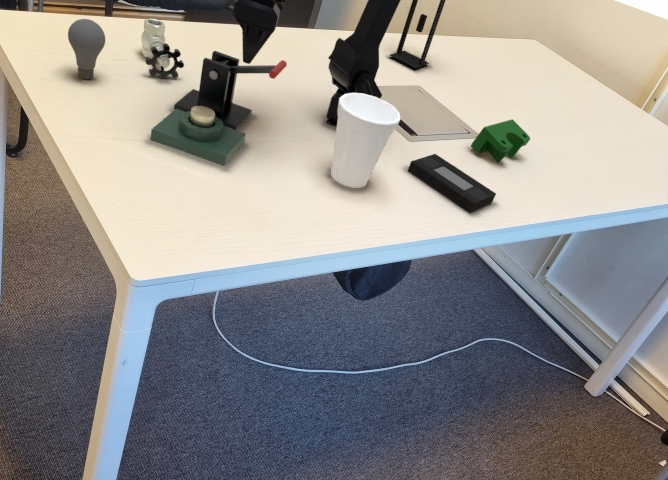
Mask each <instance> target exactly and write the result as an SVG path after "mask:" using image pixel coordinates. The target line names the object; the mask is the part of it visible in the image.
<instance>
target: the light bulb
mask: <svg viewBox="0 0 668 480" xmlns="http://www.w3.org/2000/svg"><path fill="white" fill-rule="evenodd" d="M67 39H68V42H69V44H70V47H71V49H72V50H73V52H74V55H75V59H76V60H75V61H76V65H77V75H78V77H79V78H81V79H82V80H91V79H93V78H94V71H95V68H96V64H97V59H98V57H99V54H100V53H101V52H102V51H103V49H104V47H105V45H106V35H105V32H104V29H103V27H101V26H100V25H99V24H98V23H97V22H95V21H93V19H92V20H91V19H88V18H80V19H76V20H75V21H74V22H72V24H70V26H69V28H68V30H67Z"/></svg>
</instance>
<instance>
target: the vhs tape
mask: <svg viewBox="0 0 668 480" xmlns="http://www.w3.org/2000/svg"><path fill="white" fill-rule="evenodd" d="M407 172H409V173H411V174H412V175H413V176H414V177H416V178H417V179H420V180H421V181H423V182H424V183H425V184H427V185H428V186H429V187H431V188H433V189H434V190H436V191H437V192H439V193H440V194H442V195H443V196H444V197H446V198H447V199H448V200H449V201H452V202H453V203H454V204H456V205H457V206H458V207H460V208H462V209H464V210H465V211H466V212H468V213H469V214H471V213H473V212H476V211H478V210H480V209H483V208H484V207H486V206H488V205H491V204H493V202H494V200H495V197H496V195H497V193H496V192H495V191H493V190H492V189H490V188H489V187H487V186H485V185H484V184H482V183H481V182H479V181H478V180H476V179H475V178H473V177H472V176H470V175H469V174H467V173H466V172H464V171H463V170H461V169H459V168H458V167H456V166H455V165H453V164H452V163H450V162H449V161H448V160H445V159H444V158H442V157H441V156H440V155H438V154H437V153H433V154H430V155H427V156H424V157H420V158H418V159H414V160H411V161H410V163H409V165H408V169H407Z"/></svg>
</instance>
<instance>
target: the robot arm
mask: <svg viewBox="0 0 668 480" xmlns="http://www.w3.org/2000/svg"><path fill="white" fill-rule="evenodd" d="M286 1H287V0H235V1H234V4H233V7H232V13H231V16H232V17H233V19H234V21H235V22H236V23H237V24H238V25H239V26H240V28H241V33H242V62H243V63H244V64H247V65H251V63H252V62H253V60H254V59H255V58H256V56H257V55H258V54H259V52H260V51H261V50H262V48H263V47H264V45H266V43H267V41H268V40H269V38H270V37H271V36H272V34H273V33H274V32H275V30H276V28H277V26H278V21H279V18H280V14H281V11H282V10H283V8H284V6H285V3H286ZM400 3H401V0H367V2H366V4H365V7H364V9H363V11H362V14H361V16H360V18H359V20H358V22H357V25H356V27H355V30H354V31H353V33H352V34H350V35H349V36H348V37H347V38H345V39H343V38H341V37H338V38H337V39H336V41H335V44H334V47H333V50H332V52H331V54H330V55H329V56H328V60H330V61H329V62H328V70H329V73H330V76H331V84H332V85H333V86H335V87H336V88H337V90H335V93H334V92H333V94H332V96H331V98H330V102H329V104H328V105H329V106H328V109H327V113H326V118H327V120H326V122H325V123H326V124H327V125H329V126H333V127H336V128H337V121H338V104H339V98H340V97H341V96H343V95H344V94H348V93H362V94H367V95H371V96H374V97H377V98H379V99H381V98H382V97H383V93H382V91H381V90H380V88H379V86H378V84H377V82H376V76H377V73H378V70H379V68H380V46H381V43H382V41H383V39H384V37H385V35H386V32H387V30H388V28H389V26H390V24H391V22H392V20H393V18H394V16H395V14H396V11H397V9H398V7H399V5H400Z"/></svg>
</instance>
